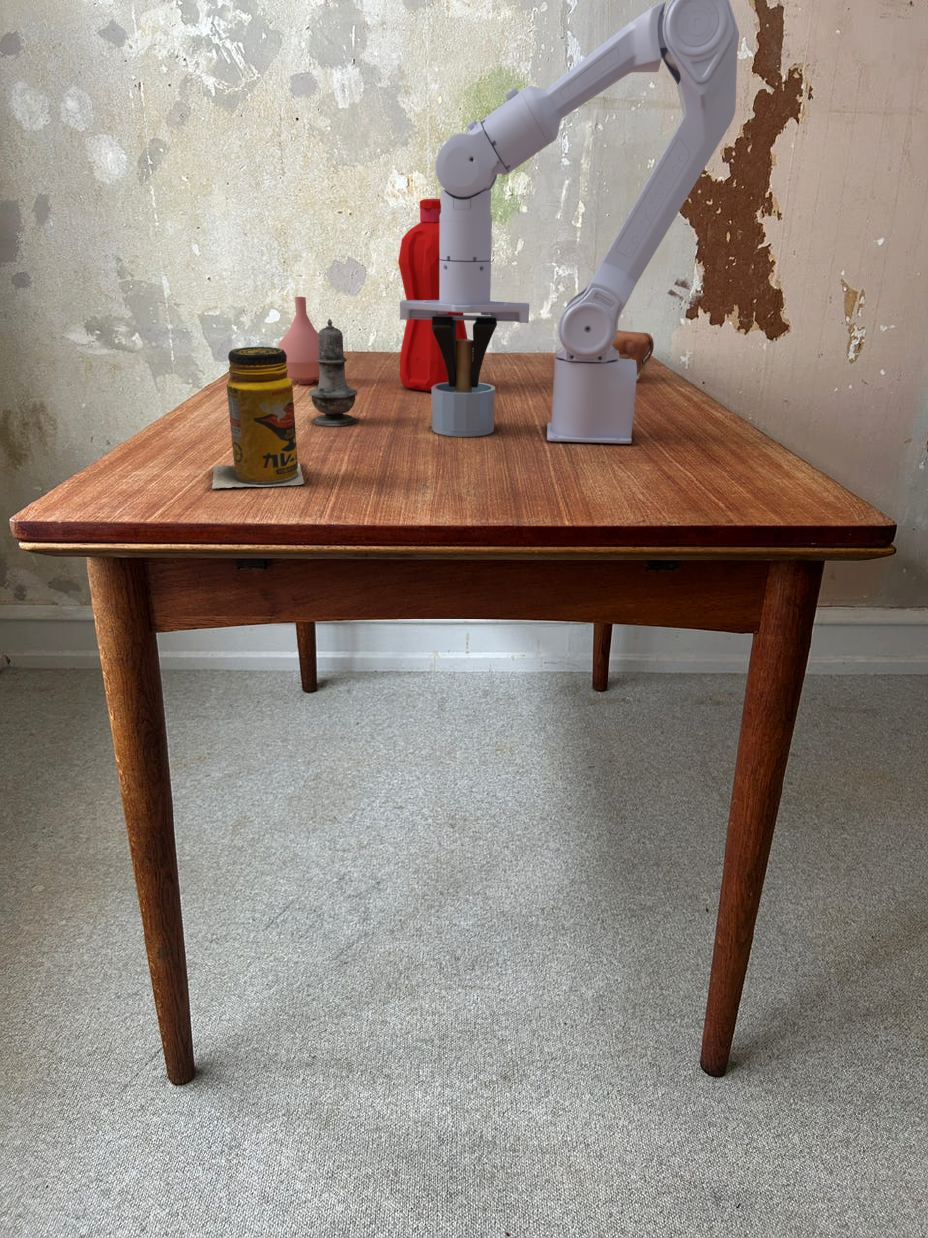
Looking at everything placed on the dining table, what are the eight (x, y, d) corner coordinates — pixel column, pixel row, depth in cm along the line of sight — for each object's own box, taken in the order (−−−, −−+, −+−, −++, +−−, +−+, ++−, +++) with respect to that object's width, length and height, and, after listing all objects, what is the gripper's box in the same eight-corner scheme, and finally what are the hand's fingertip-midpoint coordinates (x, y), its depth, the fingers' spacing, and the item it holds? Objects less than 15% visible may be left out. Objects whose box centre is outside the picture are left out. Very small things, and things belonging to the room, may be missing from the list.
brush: (476, 412, 107) (478, 338, 103) (475, 417, 104) (476, 342, 100) (452, 411, 107) (452, 337, 103) (449, 416, 104) (450, 341, 100)
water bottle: (484, 384, 133) (489, 199, 122) (444, 395, 124) (445, 198, 114) (433, 377, 137) (433, 198, 127) (391, 388, 129) (387, 197, 118)
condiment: (304, 485, 84) (296, 354, 79) (212, 490, 82) (197, 356, 77) (299, 465, 91) (291, 343, 86) (214, 469, 89) (200, 344, 84)
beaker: (495, 423, 109) (496, 382, 107) (492, 438, 102) (493, 394, 100) (435, 421, 110) (435, 380, 107) (428, 435, 103) (428, 392, 101)
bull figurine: (588, 369, 146) (592, 317, 143) (655, 381, 137) (661, 325, 134) (571, 372, 143) (574, 319, 140) (638, 384, 135) (643, 328, 131)
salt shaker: (350, 428, 106) (345, 322, 101) (303, 425, 107) (296, 320, 102) (364, 417, 111) (361, 316, 106) (320, 415, 112) (314, 315, 107)
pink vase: (305, 375, 137) (300, 293, 132) (342, 381, 133) (338, 296, 128) (268, 382, 131) (261, 297, 126) (305, 389, 127) (299, 300, 122)
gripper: (394, 260, 95) (396, 389, 101) (530, 263, 94) (524, 394, 100) (404, 257, 101) (405, 378, 107) (531, 260, 100) (526, 382, 106)
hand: (463, 385), depth 104 cm, fingers closed on brush, 2 cm apart
